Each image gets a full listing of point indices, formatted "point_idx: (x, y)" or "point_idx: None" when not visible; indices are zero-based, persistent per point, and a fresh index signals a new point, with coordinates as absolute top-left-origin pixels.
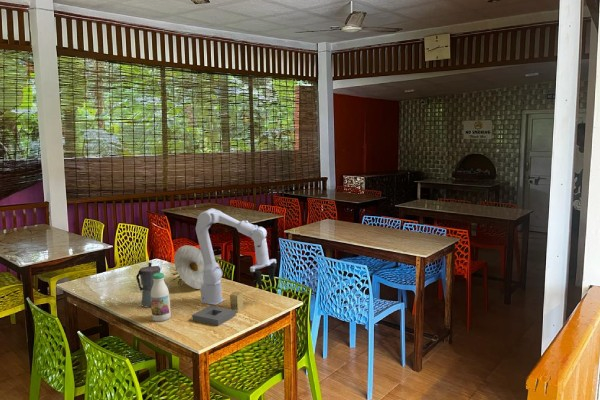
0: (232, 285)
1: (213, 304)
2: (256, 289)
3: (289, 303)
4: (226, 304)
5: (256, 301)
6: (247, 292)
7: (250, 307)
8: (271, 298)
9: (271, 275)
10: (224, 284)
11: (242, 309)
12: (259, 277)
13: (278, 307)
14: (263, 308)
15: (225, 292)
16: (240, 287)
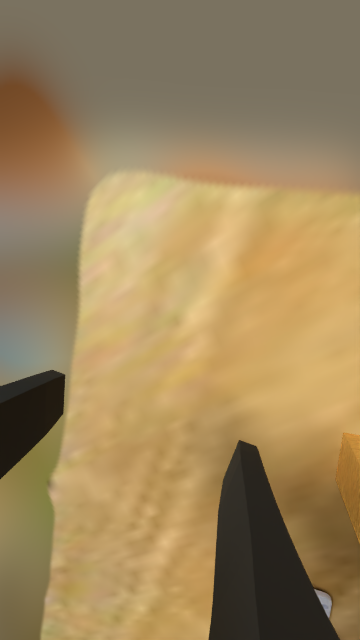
0: (76, 572)
1: (330, 607)
2: (64, 469)
3: (137, 219)
4: None
5: (189, 413)
6: (109, 494)
7: (287, 408)
8: (120, 357)
9: (12, 424)
10: (82, 602)
11: (356, 438)
12: (313, 607)
13: (221, 246)
14: (273, 327)
15: (152, 582)
16: (78, 538)
